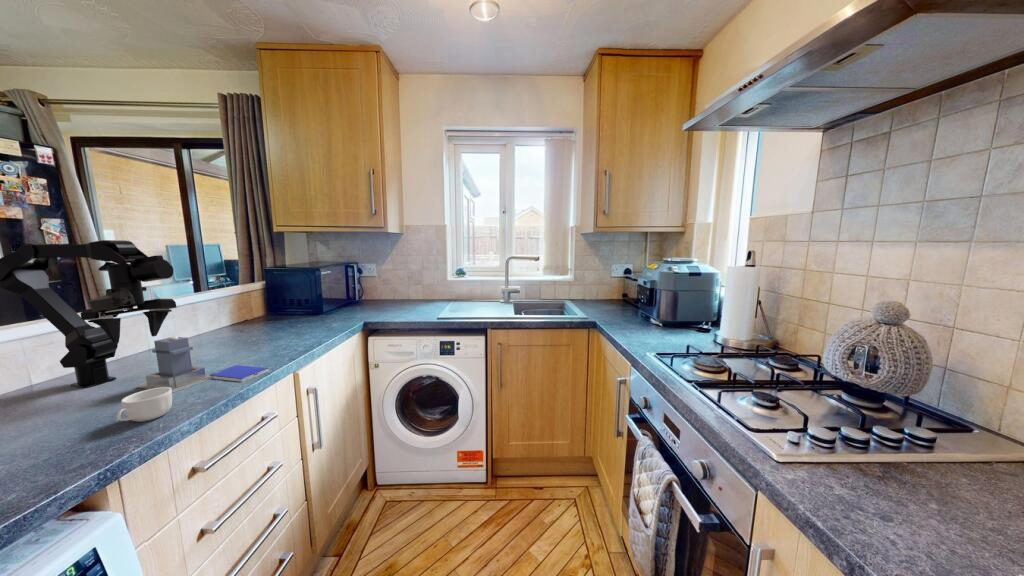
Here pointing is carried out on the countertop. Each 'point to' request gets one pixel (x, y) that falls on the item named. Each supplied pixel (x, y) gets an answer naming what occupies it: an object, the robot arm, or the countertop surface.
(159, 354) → the block
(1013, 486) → the countertop surface
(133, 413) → the teacup
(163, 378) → the chassis
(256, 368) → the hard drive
